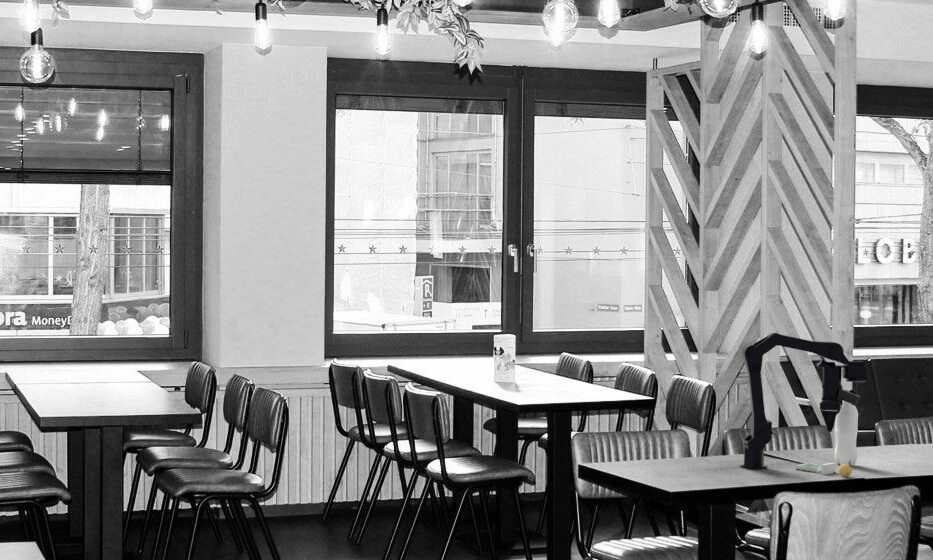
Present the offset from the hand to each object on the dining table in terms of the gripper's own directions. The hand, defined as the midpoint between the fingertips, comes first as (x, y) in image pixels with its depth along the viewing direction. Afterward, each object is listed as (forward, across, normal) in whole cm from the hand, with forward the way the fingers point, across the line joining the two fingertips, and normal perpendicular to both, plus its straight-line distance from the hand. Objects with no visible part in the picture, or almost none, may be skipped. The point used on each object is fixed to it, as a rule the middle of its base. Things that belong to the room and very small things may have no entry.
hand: (830, 430), depth 374 cm
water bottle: (+13, +15, -4) cm, 20 cm away
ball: (+11, -10, -5) cm, 16 cm away
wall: (+13, -6, 0) cm, 14 cm away
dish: (+13, -2, +5) cm, 14 cm away
